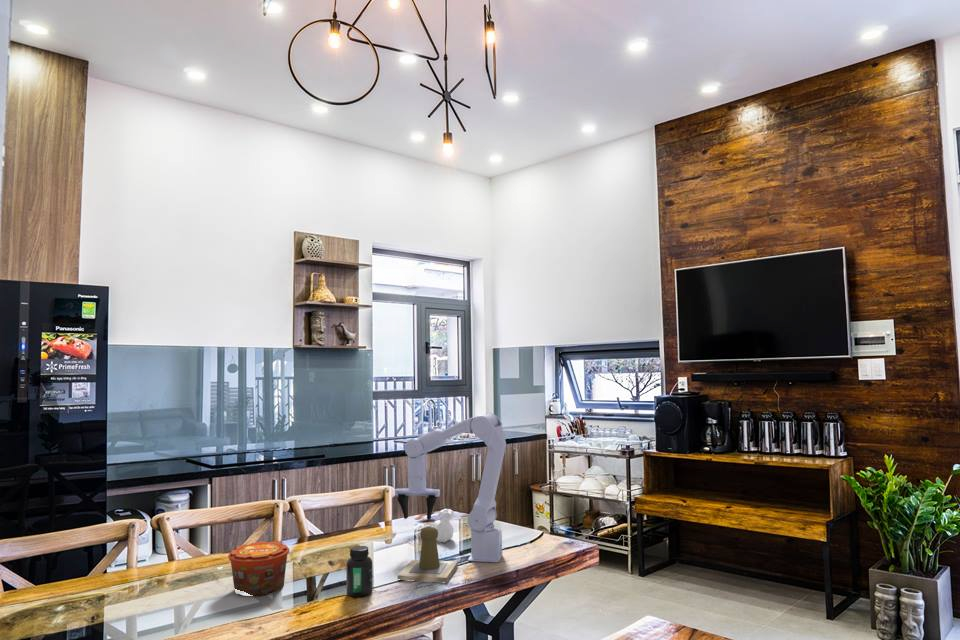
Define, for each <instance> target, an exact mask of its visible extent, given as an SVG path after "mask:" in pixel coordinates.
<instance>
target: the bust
mask: <svg viewBox="0 0 960 640" xmlns="http://www.w3.org/2000/svg"><path fill="white" fill-rule="evenodd" d="M454 515H455V512H454V510H452V509H451V508H444V509H441V510H440V511H439V513H438V517H439V519H438V520H435V522H433V524H432V527H434V528H436V529H437V530H438V537H437V539H436V542H438V543H445V544H446V542H448V541H449V540H451V539H453V537H454V531H455V530H454V526H453V524H452V523H451V521H450V520H452V519H453V518H454Z"/></svg>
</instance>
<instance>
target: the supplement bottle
mask: <svg viewBox="0 0 960 640" xmlns="http://www.w3.org/2000/svg"><path fill="white" fill-rule="evenodd" d="M369 554H370V553H369V547H368V546H367V545H355V546H352V547H350V549H349V558H348V559H347V561H346V565H345V573H346V575H345V577H346V578H345V579H346V582H345V583H346V585H345V586H346V595H347V596H348V598H352V599H362V598H367V597H369V596H370V595H372V593H373V586H374V585H373V582H374V581H373V577H374V575H373V560H372V558H371V557H370V556H369Z"/></svg>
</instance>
